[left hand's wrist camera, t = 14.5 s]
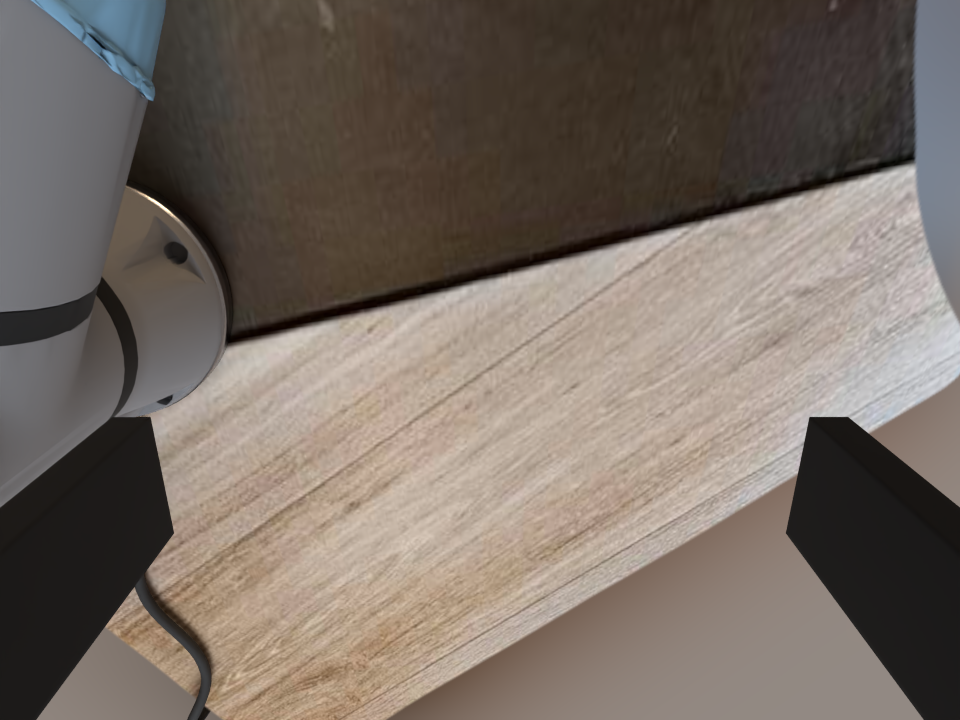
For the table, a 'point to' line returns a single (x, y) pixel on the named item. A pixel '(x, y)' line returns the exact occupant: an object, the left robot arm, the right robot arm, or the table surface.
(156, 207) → the left robot arm
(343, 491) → the table surface
